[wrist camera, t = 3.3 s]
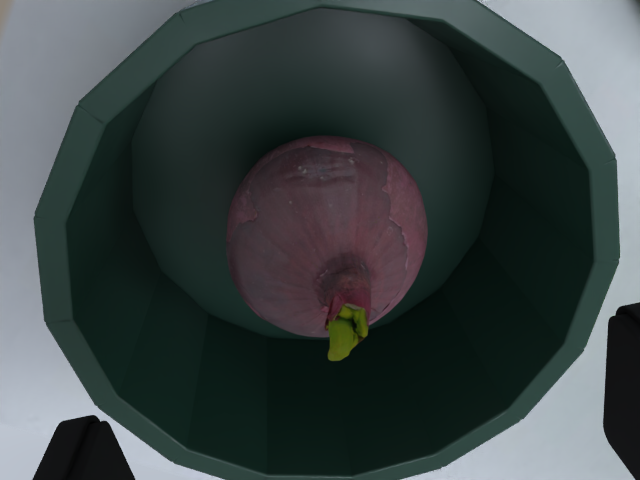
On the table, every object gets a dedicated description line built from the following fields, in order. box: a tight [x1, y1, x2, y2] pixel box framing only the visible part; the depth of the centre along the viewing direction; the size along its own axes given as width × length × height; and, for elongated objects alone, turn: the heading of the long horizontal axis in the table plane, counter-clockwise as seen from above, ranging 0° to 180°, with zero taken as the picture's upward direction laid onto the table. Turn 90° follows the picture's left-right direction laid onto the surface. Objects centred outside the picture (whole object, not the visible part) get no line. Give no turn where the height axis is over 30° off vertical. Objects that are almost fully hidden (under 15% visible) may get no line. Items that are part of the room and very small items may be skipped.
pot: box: [34, 0, 620, 480], centre depth 17 cm, size 14×14×7 cm
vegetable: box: [226, 136, 428, 361], centre depth 16 cm, size 6×6×10 cm
